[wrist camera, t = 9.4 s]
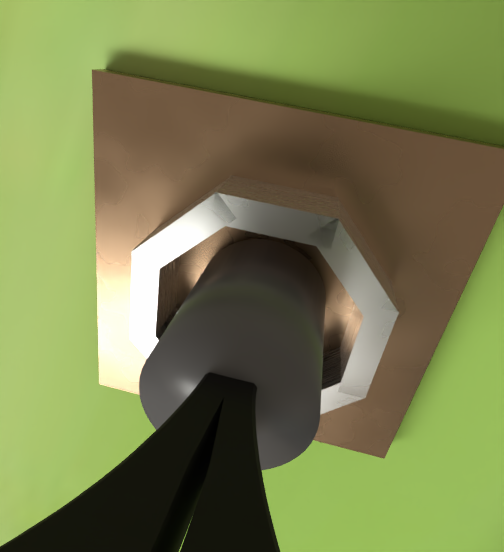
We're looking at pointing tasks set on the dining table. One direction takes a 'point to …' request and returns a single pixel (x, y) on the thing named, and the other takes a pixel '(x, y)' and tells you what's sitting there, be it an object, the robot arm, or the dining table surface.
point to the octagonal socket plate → (288, 230)
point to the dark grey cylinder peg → (248, 343)
